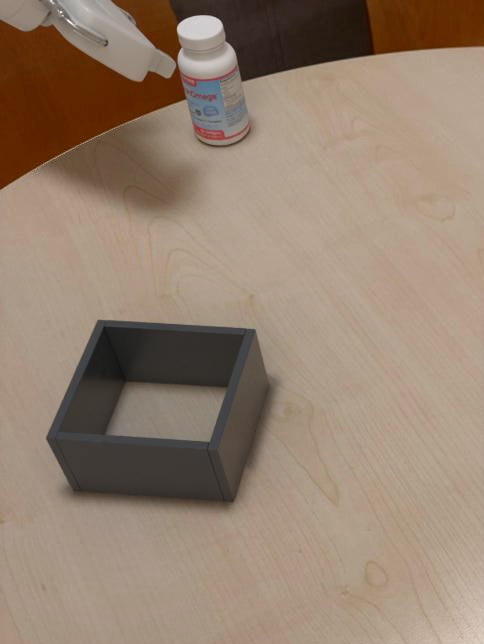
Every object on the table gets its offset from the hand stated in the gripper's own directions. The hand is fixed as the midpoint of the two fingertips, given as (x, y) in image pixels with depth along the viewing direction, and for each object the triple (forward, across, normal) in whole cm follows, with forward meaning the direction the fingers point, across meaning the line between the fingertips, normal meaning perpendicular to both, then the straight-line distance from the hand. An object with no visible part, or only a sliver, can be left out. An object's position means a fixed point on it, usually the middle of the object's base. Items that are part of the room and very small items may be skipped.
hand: (150, 47), depth 106 cm
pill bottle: (+11, -1, +4) cm, 12 cm away
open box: (-6, -40, +21) cm, 46 cm away
